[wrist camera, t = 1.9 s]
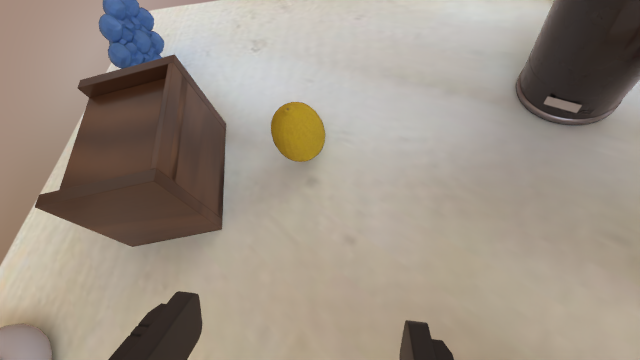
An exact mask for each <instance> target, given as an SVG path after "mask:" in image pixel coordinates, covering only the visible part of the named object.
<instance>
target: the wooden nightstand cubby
mask: <svg viewBox="0 0 640 360" xmlns="http://www.w3.org/2000/svg"><path fill="white" fill-rule="evenodd" d="M78 89H79V90H80V91H82V92H83V93H84V94H85V95H86V96H88V97H89V101H88V104H87V107H86V110H85V113H84V116H83V119H82V122H81V125H80V128H79V131H78V134H77V137H76V140H75V143H74V146H73V150H72V153H71V156H70V159H69V162H68V165H67V168H66V171H65V174H64V177H63V180H62V183H61V186H60V189H59V190H58V191H54V192H50V193H45V194H41V195H39V197H38V199H37V202H36V205H35V208H38V209H40V210H43V211H45V212H48V213H50V214H53V215H55V216H58V217H60V218H63V219H65V220H67V221H70V222H72V223H75V224H77V225H80V226H82V227H85V228H87V229H90V230H92V231H95V232H97V233H100V234H102V235H104V236H107V237H109V238H112V239H114V240H117V241H119V242H122V243H124V244H127V245H129V246H132V247H133V246H138V245H143V244H149V243H154V242H159V241H164V240H169V239H174V238H180V237H185V236H190V235H195V234H200V233H205V232H211V231H216V230H221V229H222V212H223V186H224V161H225V135H226V123H225V122H224V120H223V119H222V118H221V116H220V115H219V114H218V112H217V111H216V110H215V108H214V107H213V106H212V104H211V103H210V102H209V100H208V99H207V98H206V96H205V95H204V93H203V92H202V91H201V89H200V88H199V87H198V85H197V84H196V83H195V81H194V80H193V79H192V77H191V76H190V75H189V73H188V72H187V71H186V69H185V68H184V67H183V65H182V64H181V62H180V61H179V60H178V58H177V57H176V56H175V55H171V56H168V57H164V58H160V59H156V60H153V61H149V62H145V63H142V64H138V65H134V66H131V67H127V68H123V69H120V70H116V71H112V72H109V73H105V74H101V75H98V76H94V77H91V78H87V79H83V80H80V83H79V85H78Z"/></svg>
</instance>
